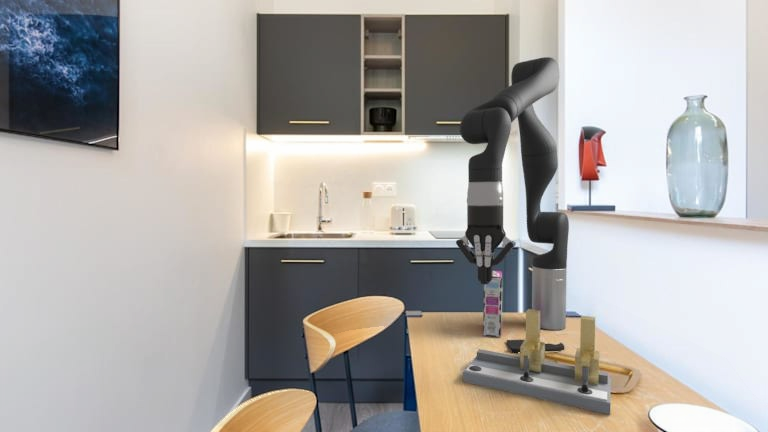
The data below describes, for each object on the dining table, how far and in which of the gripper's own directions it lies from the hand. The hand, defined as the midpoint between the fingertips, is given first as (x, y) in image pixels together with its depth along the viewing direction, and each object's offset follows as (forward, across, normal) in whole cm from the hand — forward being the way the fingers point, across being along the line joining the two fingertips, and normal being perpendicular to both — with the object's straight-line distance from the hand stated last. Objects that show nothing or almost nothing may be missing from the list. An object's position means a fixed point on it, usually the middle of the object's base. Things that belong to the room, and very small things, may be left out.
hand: (485, 283), depth 88 cm
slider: (+16, -10, +3) cm, 19 cm away
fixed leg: (+17, -20, +3) cm, 26 cm away
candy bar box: (+19, +5, -26) cm, 32 cm away
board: (+18, -11, +3) cm, 22 cm away
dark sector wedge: (+20, -7, -17) cm, 27 cm away
